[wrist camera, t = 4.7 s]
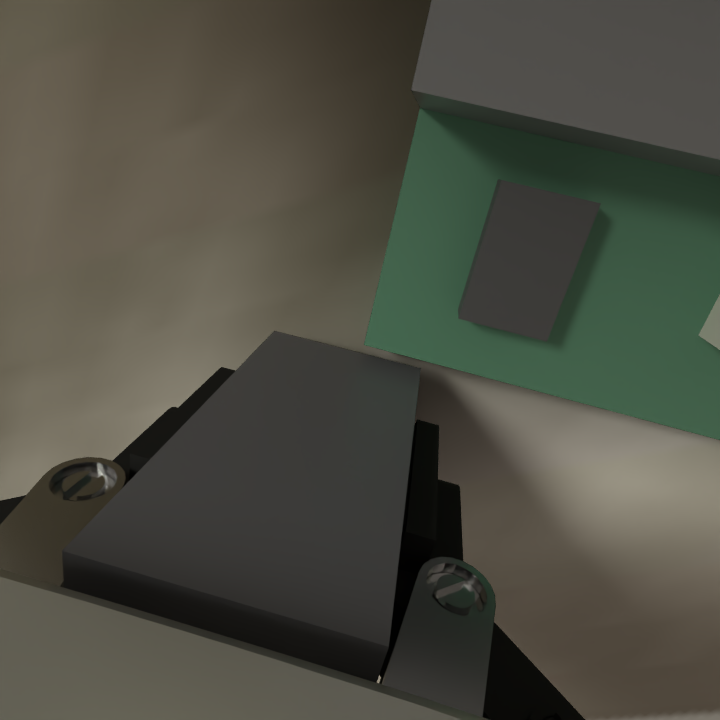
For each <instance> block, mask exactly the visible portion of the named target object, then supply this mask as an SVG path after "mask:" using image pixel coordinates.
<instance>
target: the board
mask: <svg viewBox="0 0 720 720" xmlns="http://www.w3.org/2000/svg"><path fill="white" fill-rule="evenodd" d="M364 345H366V346H370V347H374V348H377V349H381V350H385V351H389V352H392V353H396V354H400V355H404V356H407V357H411V358H415V359H419V360H422V361H426V362H430V363H434V364H437V365H441V366H445V367H449V368H452V369H456V370H460V371H464V372H467V373H471V374H475V375H479V376H482V377H486V378H490V379H494V380H497V381H501V382H505V383H509V384H512V385H516V386H520V387H523V388H527V389H531V390H535V391H538V392H542V393H546V394H550V395H553V396H557V397H561V398H565V399H568V400H572V401H576V402H580V403H583V404H587V405H591V406H595V407H598V408H602V409H606V410H610V411H613V412H617V413H621V414H625V415H628V416H632V417H636V418H640V419H643V420H647V421H651V422H655V423H658V424H662V425H666V426H670V427H673V428H677V429H681V430H684V431H688V432H692V433H696V434H699V435H703V436H707V437H711V438H714V439H718V440H720V176H716V175H712V174H707V173H703V172H699V171H694V170H690V169H685V168H681V167H677V166H672V165H668V164H664V163H659V162H655V161H650V160H646V159H642V158H637V157H633V156H628V155H624V154H620V153H615V152H611V151H607V150H602V149H598V148H593V147H589V146H585V145H580V144H576V143H571V142H567V141H563V140H558V139H554V138H550V137H545V136H541V135H536V134H532V133H528V132H523V131H519V130H515V129H510V128H506V127H501V126H497V125H493V124H488V123H484V122H479V121H475V120H471V119H466V118H462V117H458V116H453V115H449V114H444V113H440V112H436V111H431V110H427V109H423V108H420V110H419V114H418V119H417V123H416V127H415V131H414V136H413V140H412V144H411V148H410V152H409V157H408V161H407V165H406V169H405V174H404V178H403V182H402V186H401V190H400V195H399V199H398V203H397V207H396V212H395V216H394V220H393V224H392V228H391V233H390V237H389V241H388V245H387V250H386V254H385V258H384V262H383V266H382V271H381V275H380V279H379V283H378V288H377V292H376V296H375V300H374V304H373V309H372V313H371V317H370V321H369V326H368V330H367V334H366V338H365V342H364Z"/></svg>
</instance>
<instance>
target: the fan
mask: <svg viewBox="0 0 720 720" xmlns="http://www.w3.org/2000/svg"><path fill="white" fill-rule="evenodd" d="M411 91H412V93H413V95H414V97H415V99H416V101H417V103H418V105H419V107H420V108H423V109H427V110H431V111H436V112H440V113H444V114H449V115H453V116H458V117H462V118H466V119H471V120H475V121H479V122H484V123H488V124H493V125H497V126H501V127H506V128H510V129H515V130H519V131H523V132H528V133H532V134H536V135H541V136H545V137H550V138H554V139H558V140H563V141H567V142H571V143H576V144H580V145H585V146H589V147H593V148H598V149H602V150H607V151H611V152H615V153H620V154H624V155H628V156H633V157H637V158H642V159H646V160H650V161H655V162H659V163H664V164H668V165H672V166H677V167H681V168H685V169H690V170H694V171H699V172H703V173H707V174H712V175H716V176H720V0H432V1H431V5H430V10H429V14H428V18H427V23H426V27H425V32H424V36H423V40H422V45H421V49H420V53H419V58H418V62H417V67H416V71H415V75H414V80H413V84H412V89H411Z"/></svg>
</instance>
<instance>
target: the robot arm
mask: <svg viewBox="0 0 720 720" xmlns="http://www.w3.org/2000/svg"><path fill="white" fill-rule="evenodd" d="M234 372H235V370H231V369H227V368H223V367H221V368H220V369H219V370H218V371H216V372H215V373H214V374H213V375H212V376H211V377H210V378H209V379H208V380H207V381H206V382H205V383H204V384H203V385H202V386H201V387H200V388H199V389H198V390H196V391H195V392H194V393H193V394H192V395H191V396H190V397H189V398H188V399H187V400H186V401H185V402H184V403H183V404H182V405H181V406H180V407H179V408H177V407H171V408H170V409H168V410H167V411H166V412H165V413H164V414H163V415H162V416H161V417H160V418H158V419H157V420H156V421H155V422H154V423H153V424H152V425H151V426H150V427H149V428H148V429H147V430H145V431H144V432H143V433H142V434H141V435H140V436H139V437H138V438H137V439H136V440H135V441H133V442H132V443H131V444H130V445H129V446H128V447H127V448H126V449H125V450H124V451H123V452H122V453H120V454H119V455H118V456H117V457H116V458H115V459H114V460H113V461H111V460H107V459H103V458H94V457H86V458H78V459H73V460H70V461H66V462H63V463H61V464H59V465H57V466H55V467H53V468H52V469H51V470H49V471H48V472H47V473H46V474H45V475H44V476H43V477H42V478H41V479H40V480H39V481H38V482H37V484H36V485H35V486H34V487H33V488H32V489H31V490H30V492H29V493H28V494H27V495H25V496H21V497H16V498H11V499H6V500H2V501H0V720H585V719H584V718H583V717H582V716H581V715H580V714H579V713H578V712H577V710H576V709H575V708H574V707H573V706H572V705H571V704H570V703H569V702H568V701H567V700H566V699H565V698H564V697H563V695H562V694H561V693H560V692H559V691H558V690H557V689H556V688H555V687H554V686H553V685H552V684H551V683H550V682H549V680H548V679H547V678H546V677H545V676H544V675H543V674H542V673H541V672H540V671H539V670H538V669H537V668H536V667H535V665H534V664H533V663H532V662H531V661H530V660H529V659H528V658H527V657H526V656H525V655H524V654H523V653H522V652H521V650H520V649H519V648H518V647H517V646H516V645H515V644H514V643H513V642H512V641H511V640H510V639H509V638H508V636H507V635H506V634H505V633H504V632H503V631H502V630H501V629H500V628H499V627H498V626H497V625H496V624H495V623H494V615H495V607H496V603H495V594H494V592H493V590H492V587H491V585H490V584H489V582H488V581H487V580H486V578H485V577H484V576H483V575H482V574H481V573H480V572H479V571H478V570H476V569H475V568H474V567H473V566H471V565H469V564H467V563H465V562H463V547H462V524H461V501H460V487H459V486H458V485H456V484H452V483H449V482H445V481H442V480H438V448H439V425H435V424H432V423H428V422H424V421H420V420H417V421H416V423H415V425H414V432H413V441H412V449H411V458H410V467H409V475H408V484H407V493H406V502H405V510H404V519H403V528H402V536H401V545H400V554H399V563H398V571H397V580H396V589H395V597H394V606H393V615H392V624H391V632H390V641H389V648H388V651H387V654H386V656H385V659H384V662H383V665H382V668H381V671H380V674H379V675H380V677H381V679H380V682H379V683H375V682H372V681H369V680H366V679H362V678H359V677H356V676H353V675H350V674H346V673H343V672H340V671H337V670H333V669H330V668H327V667H324V666H321V665H317V664H314V663H311V662H308V661H304V660H301V659H298V658H295V657H292V656H288V655H285V654H282V653H279V652H275V651H272V650H269V649H266V648H262V647H259V646H256V645H252V644H249V643H246V642H243V641H239V640H236V639H233V638H230V637H226V636H223V635H220V634H216V633H213V632H210V631H207V630H203V629H200V628H197V627H193V626H190V625H187V624H183V623H180V622H177V621H174V620H170V619H167V618H164V617H160V616H157V615H154V614H150V613H147V612H144V611H141V610H137V609H134V608H131V607H127V606H124V605H121V604H117V603H114V602H111V601H107V600H104V599H100V598H97V597H94V596H90V595H87V594H84V593H80V592H77V591H74V590H70V589H67V588H64V578H63V561H62V550H63V549H64V548H65V547H66V546H67V545H68V544H69V543H70V542H71V541H72V540H73V539H74V538H75V537H76V536H77V535H78V534H79V532H80V531H81V530H82V529H83V528H84V527H85V526H86V525H87V524H88V523H89V522H90V521H91V520H92V519H93V518H94V517H95V516H96V515H97V514H98V513H99V512H100V511H101V510H102V509H103V508H104V507H105V506H106V505H107V504H108V502H109V501H110V500H111V499H112V498H113V497H114V496H115V495H116V494H117V493H118V492H119V491H120V490H121V489H122V488H123V487H124V486H125V485H126V484H127V483H128V482H129V481H130V480H131V479H132V478H133V477H134V476H135V475H136V473H137V472H138V471H139V470H140V469H141V468H142V467H143V466H144V465H145V464H146V463H147V462H148V461H149V460H150V459H151V458H152V457H153V456H154V455H155V454H156V453H157V452H158V451H159V450H160V449H161V448H162V447H163V446H164V444H165V443H166V442H167V441H168V440H169V439H170V438H171V437H172V436H173V435H174V434H175V433H176V432H177V431H178V430H179V429H180V428H181V427H182V426H183V425H184V424H185V423H186V422H187V421H188V420H189V419H190V418H191V417H192V415H193V414H194V413H195V412H196V411H197V410H198V409H199V408H200V407H201V406H202V405H203V404H204V403H205V402H206V401H207V400H208V399H209V398H210V397H211V396H212V395H213V394H214V393H215V392H216V391H217V390H218V389H219V388H220V386H221V385H222V384H223V383H224V382H225V381H226V380H227V379H228V378H229V377H230V376H231V375H232V374H233V373H234Z"/></svg>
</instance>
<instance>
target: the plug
mask: <svg viewBox="0 0 720 720" xmlns="http://www.w3.org/2000/svg"><path fill="white" fill-rule="evenodd" d="M420 371H421V368H418V367H414V366H410V365H406V364H402V363H398V362H394V361H390V360H386V359H382V358H379V357H375V356H371V355H367V354H363V353H359V352H355V351H351V350H347V349H343V348H340V347H336V346H332V345H328V344H324V343H320V342H316V341H312V340H308V339H304V338H301V337H297V336H293V335H289V334H285V333H281V332H277V331H274V332H273V333H272V334H271V335H270V336H269V337H268V338H267V339H266V340H265V341H264V342H263V343H262V344H261V345H260V346H259V347H258V348H257V349H256V350H255V351H254V352H253V353H252V354H251V355H250V356H249V357H248V359H247V360H246V361H245V362H244V363H243V364H242V365H241V366H240V367H239V368H238V369H237V370H236V371H235V372H234V373H233V374H232V375H231V376H230V377H229V378H228V379H227V380H226V381H225V382H224V383H223V384H222V385H221V386H220V388H219V389H218V390H217V391H216V392H215V393H214V394H213V395H212V396H211V397H210V398H209V399H208V400H207V401H206V402H205V403H204V404H203V405H202V406H201V407H200V408H199V409H198V410H197V411H196V412H195V413H194V414H193V415H192V417H191V418H190V419H189V420H188V421H187V422H186V423H185V424H184V425H183V426H182V427H181V428H180V429H179V430H178V431H177V432H176V433H175V434H174V435H173V436H172V437H171V438H170V439H169V440H168V441H167V442H166V443H165V444H164V446H163V447H162V448H161V449H160V450H159V451H158V452H157V453H156V454H155V455H154V456H153V457H152V458H151V459H150V460H149V461H148V462H147V463H146V464H145V465H144V466H143V467H142V468H141V469H140V470H139V471H138V472H137V473H136V475H135V476H134V477H133V478H132V479H131V480H130V481H129V482H128V483H127V484H126V485H125V486H124V487H123V488H122V489H121V490H120V491H119V492H118V493H117V494H116V495H115V496H114V497H113V498H112V499H111V500H110V501H109V502H108V504H107V505H106V506H105V507H104V508H103V509H102V510H101V511H100V512H99V513H98V514H97V515H96V516H95V517H94V518H93V519H92V520H91V521H90V522H89V523H88V524H87V525H86V526H85V527H84V528H83V529H82V530H81V531H80V532H79V534H78V535H77V536H76V537H75V538H74V539H73V540H72V541H71V542H70V543H69V544H68V545H67V546H66V547H65V548H64V549H63V550H62V561H63V578H64V588H67V589H70V590H74V591H77V592H80V593H84V594H87V595H90V596H94V597H97V598H100V599H104V600H107V601H111V602H114V603H117V604H121V605H124V606H127V607H131V608H134V609H137V610H141V611H144V612H147V613H150V614H154V615H157V616H160V617H164V618H167V619H170V620H174V621H177V622H180V623H183V624H187V625H190V626H193V627H197V628H200V629H203V630H207V631H210V632H213V633H216V634H220V635H223V636H226V637H230V638H233V639H236V640H239V641H243V642H246V643H249V644H252V645H256V646H259V647H262V648H266V649H269V650H272V651H275V652H279V653H282V654H285V655H288V656H292V657H295V658H298V659H301V660H304V661H308V662H311V663H314V664H317V665H321V666H324V667H327V668H330V669H333V670H337V671H340V672H343V673H346V674H350V675H353V676H356V677H359V678H362V679H366V680H369V681H372V682H375V683H377V680H378V677H379V674H380V671H381V668H382V665H383V662H384V659H385V656H386V654H387V651H388V648H389V641H390V632H391V624H392V615H393V606H394V597H395V589H396V580H397V571H398V563H399V554H400V545H401V536H402V528H403V519H404V510H405V502H406V493H407V484H408V475H409V467H410V458H411V449H412V441H413V432H414V423H415V414H416V406H417V397H418V388H419V380H420Z"/></svg>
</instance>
